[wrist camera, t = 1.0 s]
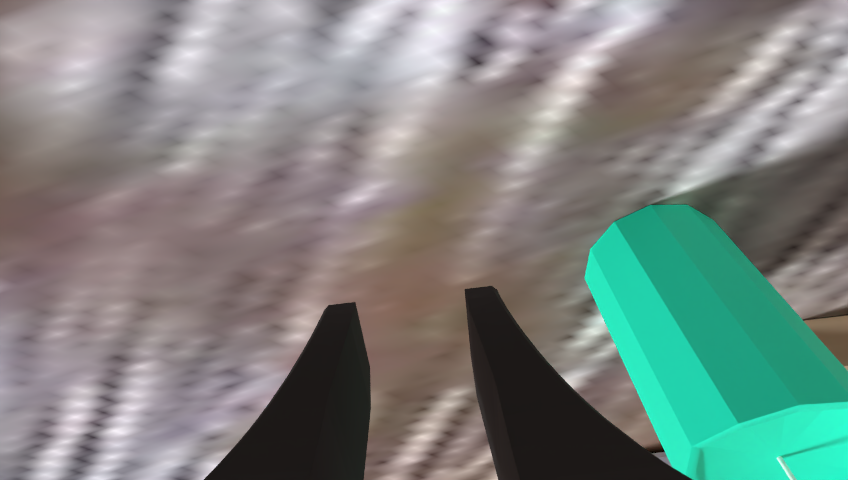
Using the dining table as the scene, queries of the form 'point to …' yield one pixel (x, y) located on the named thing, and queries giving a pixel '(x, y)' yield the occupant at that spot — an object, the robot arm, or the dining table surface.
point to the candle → (718, 352)
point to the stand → (833, 335)
